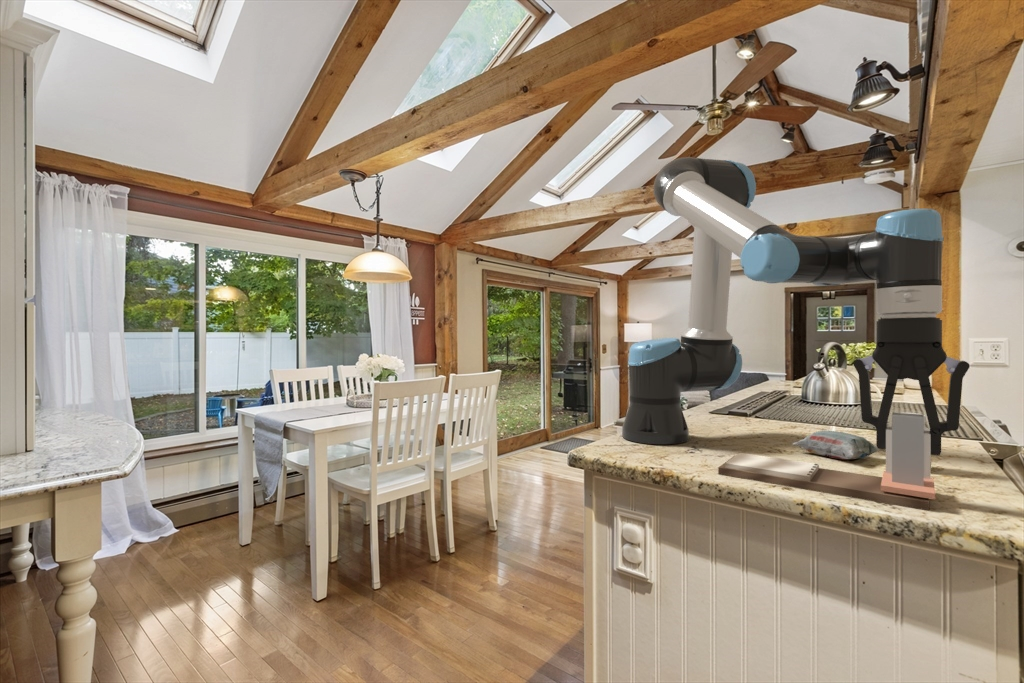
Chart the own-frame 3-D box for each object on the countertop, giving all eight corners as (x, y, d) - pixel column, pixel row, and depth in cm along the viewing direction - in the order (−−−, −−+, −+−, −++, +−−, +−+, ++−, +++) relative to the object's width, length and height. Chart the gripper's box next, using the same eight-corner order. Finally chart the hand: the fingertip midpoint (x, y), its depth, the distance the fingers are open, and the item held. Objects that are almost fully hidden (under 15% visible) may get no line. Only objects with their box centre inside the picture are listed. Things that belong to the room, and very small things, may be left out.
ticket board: (718, 474, 84) (718, 462, 84) (734, 461, 92) (734, 450, 92) (929, 510, 66) (929, 495, 66) (927, 491, 74) (927, 477, 74)
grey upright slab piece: (880, 490, 70) (880, 417, 70) (883, 476, 77) (883, 409, 77) (935, 499, 66) (935, 421, 66) (933, 483, 73) (933, 412, 73)
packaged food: (852, 467, 88) (853, 440, 88) (791, 453, 99) (791, 429, 99) (880, 461, 92) (880, 436, 92) (818, 448, 102) (818, 425, 102)
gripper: (837, 318, 74) (837, 469, 74) (990, 314, 63) (989, 491, 63) (843, 318, 79) (843, 459, 80) (984, 315, 69) (983, 477, 69)
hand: (907, 473), depth 72 cm, fingers closed on grey upright slab piece, 4 cm apart
